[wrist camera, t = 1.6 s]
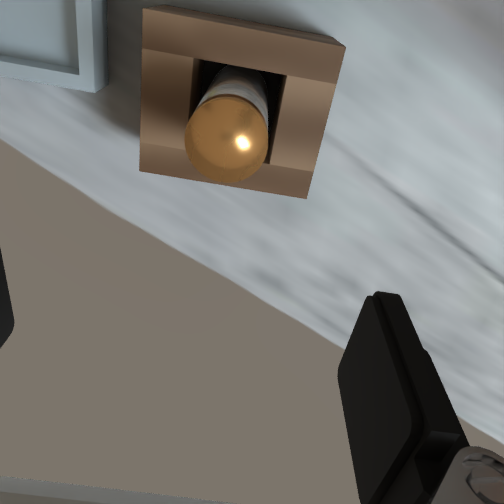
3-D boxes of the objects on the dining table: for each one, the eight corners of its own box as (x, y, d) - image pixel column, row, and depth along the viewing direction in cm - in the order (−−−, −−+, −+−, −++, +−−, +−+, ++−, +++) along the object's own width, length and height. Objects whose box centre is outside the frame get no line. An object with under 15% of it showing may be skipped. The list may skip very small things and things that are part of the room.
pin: (214, 58, 31) (187, 92, 20) (272, 69, 31) (275, 108, 21) (207, 118, 33) (181, 175, 23) (262, 127, 33) (260, 188, 23)
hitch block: (164, 4, 29) (142, 8, 24) (332, 37, 30) (345, 47, 25) (158, 144, 34) (139, 171, 29) (300, 168, 35) (306, 199, 30)
